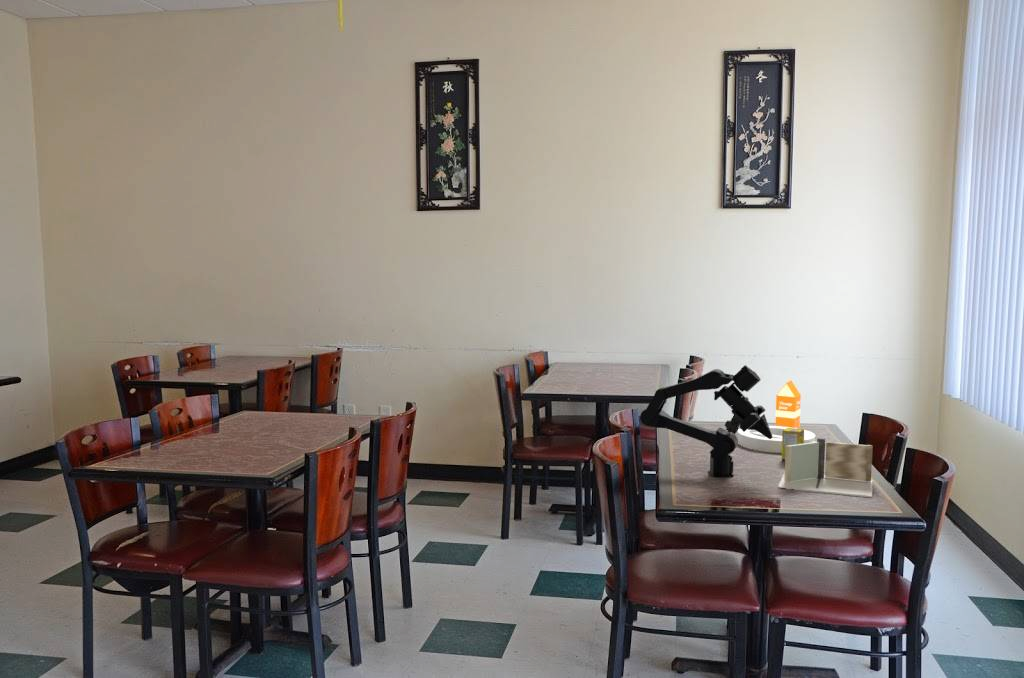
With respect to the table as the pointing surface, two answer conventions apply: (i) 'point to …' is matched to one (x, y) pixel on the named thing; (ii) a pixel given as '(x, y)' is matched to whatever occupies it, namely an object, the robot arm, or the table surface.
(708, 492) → the table surface
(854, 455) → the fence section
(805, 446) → the pale green flat panel
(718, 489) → the table surface
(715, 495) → the table surface
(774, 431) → the ring with crossbar
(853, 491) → the board
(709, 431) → the robot arm
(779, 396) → the orange juice
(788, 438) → the supplement box
